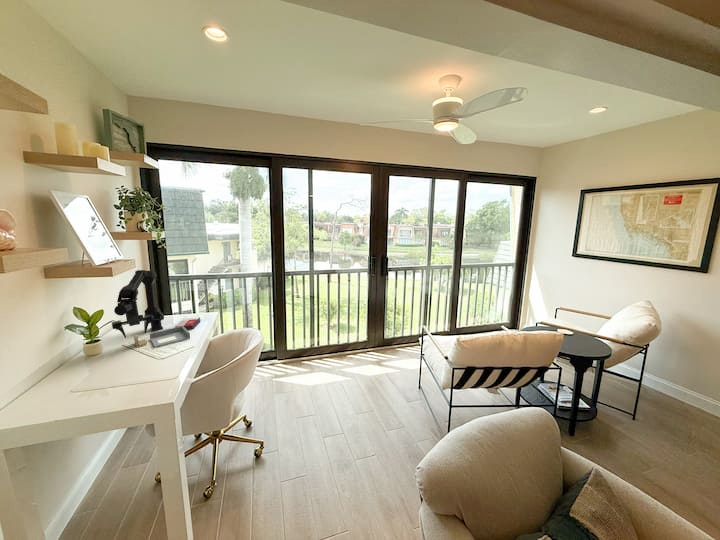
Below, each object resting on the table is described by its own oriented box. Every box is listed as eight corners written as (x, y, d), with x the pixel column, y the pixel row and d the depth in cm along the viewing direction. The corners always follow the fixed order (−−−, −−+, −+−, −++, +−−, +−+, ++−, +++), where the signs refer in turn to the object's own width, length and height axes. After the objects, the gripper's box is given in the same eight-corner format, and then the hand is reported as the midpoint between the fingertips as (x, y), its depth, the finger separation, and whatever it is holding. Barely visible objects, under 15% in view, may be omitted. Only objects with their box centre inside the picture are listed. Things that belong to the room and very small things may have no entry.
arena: (150, 339, 176) (149, 333, 176) (183, 331, 189) (183, 325, 188) (154, 348, 165) (153, 341, 164) (190, 338, 177) (189, 332, 176)
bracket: (135, 343, 171) (133, 334, 170) (145, 341, 175) (143, 331, 174) (136, 347, 166) (135, 338, 165) (147, 345, 169) (145, 335, 168)
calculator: (173, 326, 189) (183, 317, 203) (174, 332, 190) (183, 323, 204) (192, 325, 191) (199, 316, 205) (193, 331, 192) (200, 322, 206)
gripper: (110, 317, 153) (115, 344, 156) (153, 309, 166) (157, 334, 168) (109, 312, 161) (114, 338, 164) (150, 305, 174) (154, 329, 176)
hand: (135, 335), depth 168 cm, fingers open, 9 cm apart
